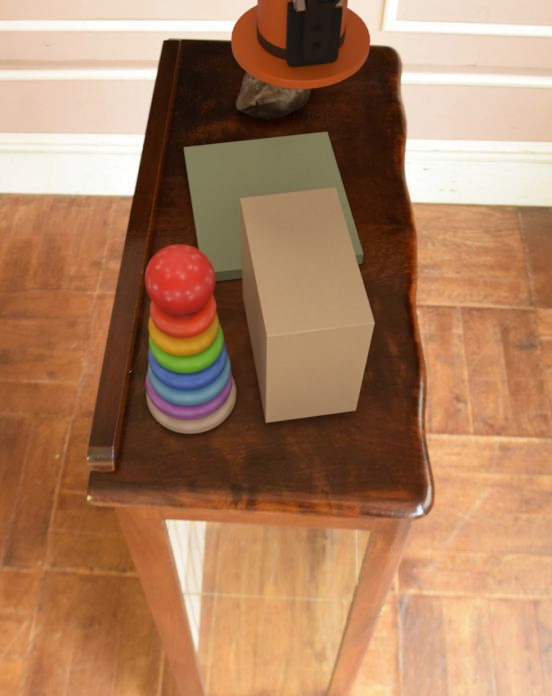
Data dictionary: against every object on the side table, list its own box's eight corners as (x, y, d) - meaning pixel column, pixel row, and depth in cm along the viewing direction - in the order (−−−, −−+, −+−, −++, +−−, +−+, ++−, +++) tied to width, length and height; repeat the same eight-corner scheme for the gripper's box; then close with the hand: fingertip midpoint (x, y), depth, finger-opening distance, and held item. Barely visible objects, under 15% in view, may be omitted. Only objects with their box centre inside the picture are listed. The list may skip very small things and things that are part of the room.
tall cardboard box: (326, 292, 76) (338, 186, 64) (357, 416, 68) (378, 322, 57) (242, 302, 75) (239, 197, 63) (265, 428, 68) (266, 336, 56)
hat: (351, -3, 53) (361, -96, 48) (384, 80, 49) (399, -13, 44) (222, 11, 53) (218, -82, 47) (243, 96, 48) (241, 4, 43)
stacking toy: (228, 443, 67) (219, 313, 51) (138, 431, 68) (101, 298, 52) (243, 367, 71) (239, 225, 55) (158, 356, 72) (130, 212, 56)
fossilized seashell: (251, 125, 85) (331, 114, 88) (246, 59, 82) (329, 50, 85) (225, 119, 91) (301, 109, 94) (220, 58, 88) (298, 50, 92)
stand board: (326, 141, 87) (327, 131, 86) (362, 263, 78) (363, 254, 76) (184, 157, 86) (183, 146, 85) (203, 283, 76) (202, 273, 75)
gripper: (460, -268, 30) (392, 112, 46) (357, -405, 39) (329, -49, 55) (271, -253, 30) (266, 126, 45) (210, -396, 39) (224, -38, 54)
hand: (301, 28), depth 50 cm, fingers closed on hat, 5 cm apart
